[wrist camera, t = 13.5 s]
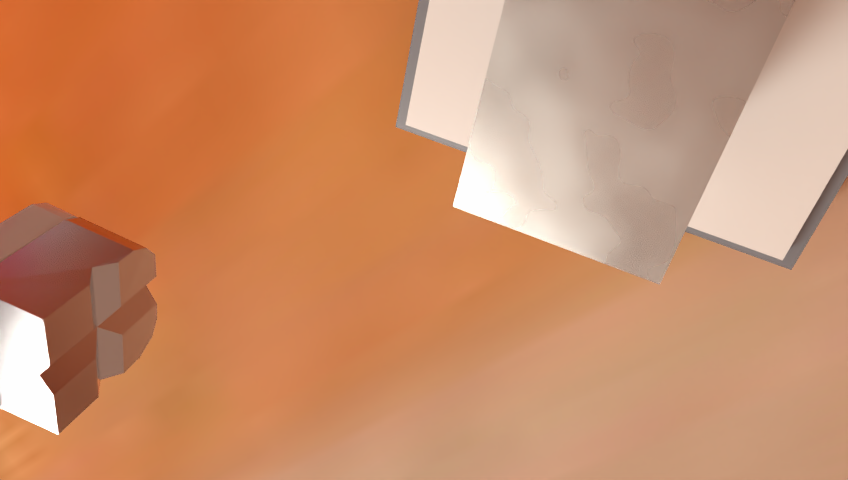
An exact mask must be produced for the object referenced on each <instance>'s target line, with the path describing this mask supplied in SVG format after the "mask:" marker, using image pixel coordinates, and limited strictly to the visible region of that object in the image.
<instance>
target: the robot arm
mask: <svg viewBox="0 0 848 480" xmlns="http://www.w3.org/2000/svg"><path fill="white" fill-rule="evenodd" d="M155 277H156V262H155V254H154V253H152V252H151V251H150V250H148V249H147V248H145V247H143V246H141V245H139V244H137V243H135V242H132V241H130V240H128V239H126V238H124V237H122V236H119V235H117V234H115V233H113V232H111V231H109V230H106V229H104V228H102V227H100V226H98V225H96V224H93V223H91V222H89V221H87V220H85V219H83V218H80V217H76V216H74V215H72V214H70V213H68V212H66V211H63V210H61V209H59V208H57V207H55V206H53V205H51V204H48V203H40V204H32V205H30V206H28V207H27V208H25V209H23V210H22V211H20V212H18V213H17V214H15V215H13V216H12V217H10V218H8V219H7V220H5V221H3V222H2V223H0V408H2V409H4V410H6V411H8V412H11V413H13V414H15V415H17V416H19V417H21V418H24V419H26V420H28V421H30V422H32V423H34V424H37V425H39V426H41V427H43V428H45V429H47V430H50V431H52V432H54V433H56V434H59V433H60V432H61V431H63V430H64V429H65V428H66V427H67V426H68V425H69V424H70V423H71V422H72V421H73V420H74V419H75V418H76V417H78V416H79V415H80V414H81V413H82V412H83V411H84V410H85V409H86V408H87V407H88V406H89V405H90V404H91V403H92V402H94V401H95V400H96V399H97V398H98V396H99V388H100V380H101V379H105V378H108V377H111V376H115V375H118V374H122V373H124V372H125V371H126V370H127V369H128V368H129V367H130V366H131V365H132V364H133V363H134V362H135V361H136V360H137V359H138V358H139V357H140V356H141V354H142V353H143V351H144V349H145V348H146V346H147V344H148V343H149V341H150V339H151V338H152V335H153V331H154V328H155V324H156V320H157V303H156V302H155V300H154V298H153V297H152V295H151V293H150V291H149V290H148V288H147V286H146V285H147V284H148V283H149V282H150V281H151V280H152V279H154V278H155Z"/></svg>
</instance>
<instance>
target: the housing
mask: <svg viewBox="0 0 848 480" xmlns="http://www.w3.org/2000/svg"><path fill="white" fill-rule="evenodd" d="M794 2H795V0H505V2H504V6H503V10H502V14H501V18H500V22H499V26H498V30H497V34H496V38H495V42H494V45H493V49H492V53H491V57H490V61H489V65H488V69H487V73H486V77H485V81H484V85H483V89H482V93H481V97H480V101H479V105H478V109H477V113H476V117H475V121H474V125H473V129H472V133H471V137H470V141H469V145H468V149H467V153H466V157H465V161H464V165H463V169H462V173H461V177H460V181H459V185H458V189H457V193H456V196H455V200H454V204H453V207H456V208H459V209H461V210H464V211H467V212H469V213H472V214H474V215H477V216H480V217H482V218H485V219H488V220H490V221H493V222H496V223H498V224H501V225H504V226H506V227H509V228H512V229H514V230H517V231H519V232H522V233H525V234H527V235H530V236H533V237H535V238H538V239H541V240H543V241H546V242H549V243H551V244H554V245H557V246H559V247H562V248H564V249H567V250H570V251H572V252H575V253H578V254H580V255H583V256H586V257H588V258H591V259H594V260H596V261H599V262H602V263H604V264H607V265H609V266H612V267H615V268H617V269H620V270H623V271H625V272H628V273H631V274H633V275H636V276H639V277H641V278H644V279H647V280H649V281H652V282H654V283H657V284H660V283H661V281H662V279H663V277H664V275H665V272H666V270H667V268H668V266H669V264H670V262H671V260H672V258H673V256H674V254H675V251H676V249H677V247H678V245H679V243H680V241H681V239H682V237H683V235H684V233H685V230H686V228H687V226H688V224H689V222H690V220H691V218H692V216H693V214H694V212H695V209H696V207H697V205H698V203H699V201H700V199H701V197H702V195H703V193H704V191H705V188H706V186H707V184H708V182H709V180H710V178H711V176H712V174H713V172H714V170H715V167H716V165H717V163H718V161H719V159H720V157H721V155H722V153H723V151H724V149H725V146H726V144H727V142H728V140H729V138H730V136H731V134H732V132H733V130H734V128H735V125H736V123H737V121H738V119H739V117H740V115H741V113H742V111H743V109H744V107H745V104H746V102H747V100H748V98H749V96H750V94H751V92H752V90H753V88H754V86H755V83H756V81H757V79H758V77H759V75H760V73H761V71H762V69H763V67H764V65H765V62H766V60H767V58H768V56H769V54H770V52H771V50H772V48H773V46H774V44H775V41H776V39H777V37H778V35H779V33H780V31H781V29H782V27H783V25H784V23H785V20H786V18H787V16H788V14H789V12H790V10H791V8H792V6H793V4H794Z"/></svg>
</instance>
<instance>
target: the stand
mask: <svg viewBox="0 0 848 480" xmlns="http://www.w3.org/2000/svg"><path fill="white" fill-rule="evenodd" d="M504 2H505V0H419V3H418V8H417V14H416V19H415V25H414V30H413V35H412V41H411V46H410V52H409V57H408V63H407V68H406V73H405V79H404V84H403V90H402V95H401V101H400V106H399V111H398V117H397V122H396V127H397V128H400V129H403V130H406V131H408V132H411V133H414V134H417V135H419V136H422V137H425V138H428V139H431V140H433V141H436V142H439V143H442V144H444V145H447V146H450V147H453V148H455V149H458V150H461V151H464V152H467V149H468V145H469V141H470V137H471V133H472V129H473V125H474V121H475V117H476V113H477V109H478V105H479V101H480V97H481V93H482V89H483V85H484V81H485V77H486V73H487V69H488V65H489V61H490V57H491V53H492V49H493V45H494V42H495V38H496V34H497V30H498V26H499V22H500V18H501V14H502V10H503V6H504ZM847 176H848V0H795V2H794V4H793V6H792V8H791V10H790V12H789V14H788V16H787V18H786V20H785V23H784V25H783V27H782V29H781V31H780V33H779V35H778V37H777V39H776V41H775V44H774V46H773V48H772V50H771V52H770V54H769V56H768V58H767V60H766V62H765V65H764V67H763V69H762V71H761V73H760V75H759V77H758V79H757V81H756V83H755V86H754V88H753V90H752V92H751V94H750V96H749V98H748V100H747V102H746V104H745V107H744V109H743V111H742V113H741V115H740V117H739V119H738V121H737V123H736V125H735V128H734V130H733V132H732V134H731V136H730V138H729V140H728V142H727V144H726V146H725V149H724V151H723V153H722V155H721V157H720V159H719V161H718V163H717V165H716V167H715V170H714V172H713V174H712V176H711V178H710V180H709V182H708V184H707V186H706V188H705V191H704V193H703V195H702V197H701V199H700V201H699V203H698V205H697V207H696V209H695V212H694V214H693V216H692V218H691V220H690V222H689V224H688V226H687V228H686V230H685V232H688V233H691V234H693V235H696V236H699V237H702V238H705V239H707V240H710V241H713V242H716V243H718V244H721V245H724V246H727V247H729V248H732V249H735V250H738V251H740V252H743V253H746V254H749V255H752V256H754V257H757V258H760V259H763V260H765V261H768V262H771V263H774V264H776V265H779V266H782V267H785V268H788V269H790V270H792V268H793V266H794V265H795V263H796V261H797V259H798V258H799V256H800V254H801V253H802V251H803V249H804V248H805V246H806V244H807V243H808V241H809V239H810V238H811V236H812V234H813V233H814V231H815V229H816V228H817V226H818V224H819V223H820V221H821V219H822V218H823V216H824V214H825V213H826V211H827V209H828V208H829V206H830V204H831V202H832V201H833V199H834V197H835V196H836V194H837V192H838V191H839V189H840V187H841V186H842V184H843V182H844V181H845V179H846V177H847Z"/></svg>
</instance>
